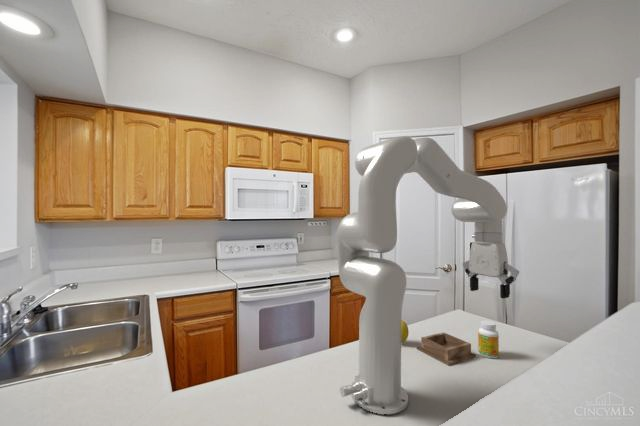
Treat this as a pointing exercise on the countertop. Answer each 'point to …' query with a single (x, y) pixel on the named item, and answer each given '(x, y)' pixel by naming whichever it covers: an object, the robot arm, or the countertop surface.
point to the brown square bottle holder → (446, 348)
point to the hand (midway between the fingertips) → (488, 293)
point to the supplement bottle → (488, 340)
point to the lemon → (404, 331)
